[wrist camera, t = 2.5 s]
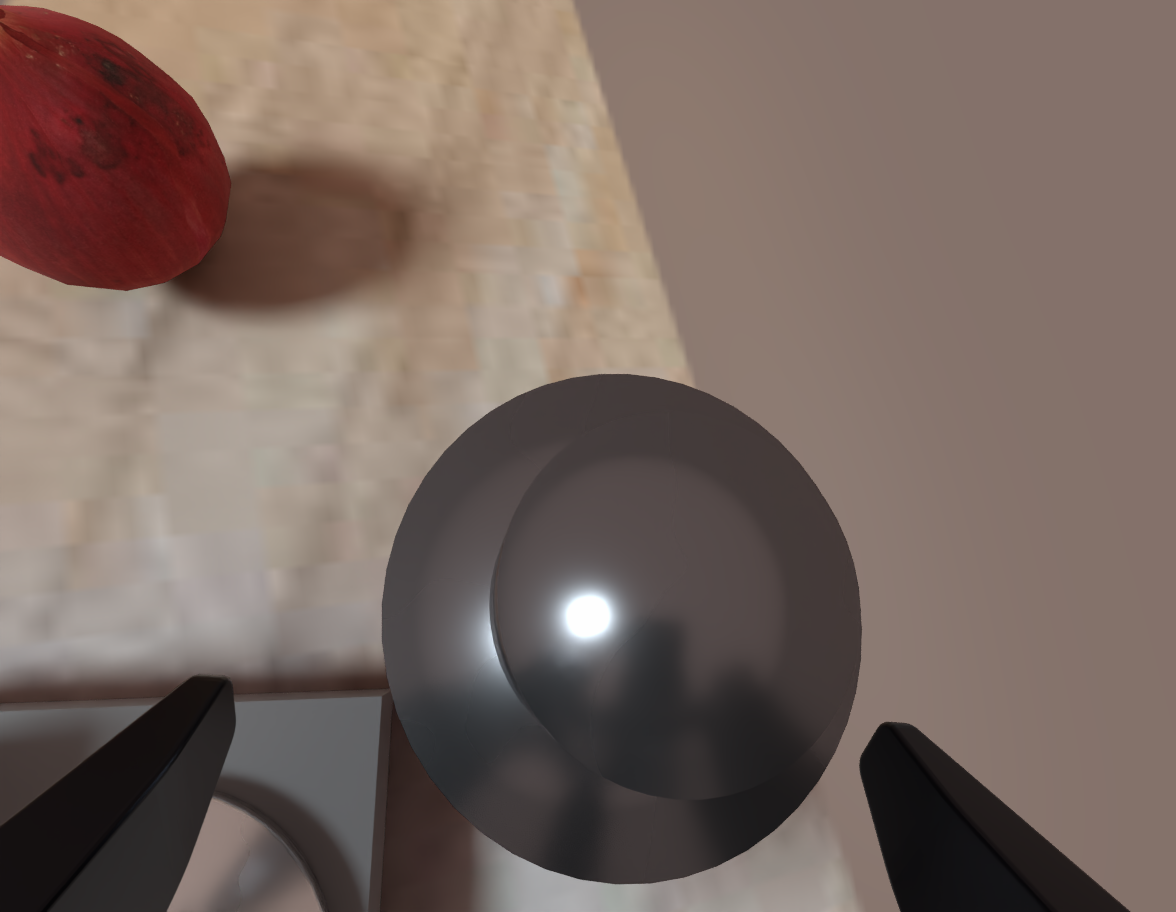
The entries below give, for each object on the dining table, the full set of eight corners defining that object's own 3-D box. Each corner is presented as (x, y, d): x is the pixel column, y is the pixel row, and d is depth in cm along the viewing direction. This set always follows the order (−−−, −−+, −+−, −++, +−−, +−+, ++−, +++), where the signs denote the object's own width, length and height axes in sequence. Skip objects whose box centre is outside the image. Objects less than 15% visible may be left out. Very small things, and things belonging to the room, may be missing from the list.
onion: (271, 180, 20) (156, -98, 13) (256, 344, 18) (115, 139, 11) (63, 164, 19) (-201, -151, 11) (28, 337, 17) (-306, 103, 10)
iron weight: (615, 718, 17) (1026, 921, 5) (430, 727, 16) (322, 1014, 4) (608, 539, 19) (913, 326, 6) (438, 538, 18) (380, 283, 5)
